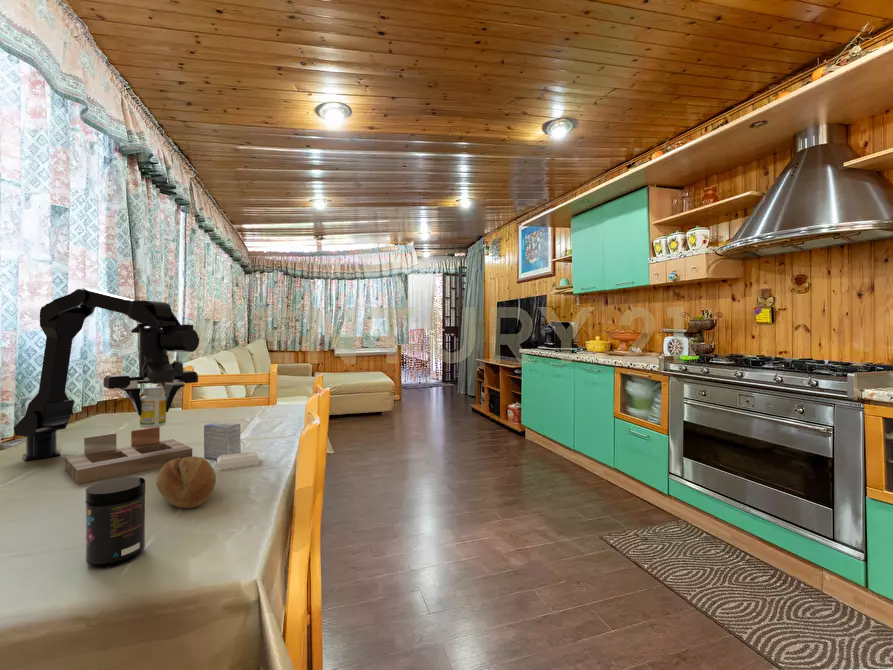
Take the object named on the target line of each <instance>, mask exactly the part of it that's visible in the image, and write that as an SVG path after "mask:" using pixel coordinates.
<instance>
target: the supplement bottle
mask: <svg viewBox="0 0 893 670" xmlns="http://www.w3.org/2000/svg"><path fill="white" fill-rule="evenodd" d="M163 393H164V386H145V387H143V394H144V395H143V396H140V401H141V415H140V416H139V426H140V428H142V429H145V428H152V427H163V426H165V425H166V423H167V412H166V396H165V394H163Z"/></svg>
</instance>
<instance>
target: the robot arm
mask: <svg viewBox="0 0 893 670" xmlns="http://www.w3.org/2000/svg"><path fill="white" fill-rule="evenodd" d="M96 308H100V309H103V310H107V311H112V312H116V313H118V314H119V313H120V314H124V315H126V316H127V317H128V318H129V319H131V320H133V321H134V322H137V323H138V324H137V326H135V327H133V328H132V329H131V330H130V332H131V333H133V334H139V354H138V361H139V362H138V363H139V367H138V369H139V371H138V376H130V375H129V374H109V375H108V374H107V375H106V376H105V377H104V378H103V388H104V389H109V390H117V389H119V390H120V391H123V392H126V394H127V396H128V397H129V399H130V400H131V401H130V402H131V403H132V405H133V407H134V409H135V412H136V414H137V415H138V416H139V417H140V415H141V401H140V399H141V388H140V387H138V385H140V384H153V385H156V384H160V383H164V395H165V396H166V413H168V412H169V410H170V408H171V406H172V403H173V401H174V398H175V396H176V394H177V392H178V391H179V390H180V389H181V388H183V387H186V384H192V383H193V384H195V383H199V374H198V373H197V372H196V371H192V370H184V363H183V362H182V361H172V363H171V362H170V361H169V360H170V359H169V355H168V352H175V353H177V352H178V353H179V352H180V353H186V352H187V353H193V352H195V351H196V350H197V349H198V347H199V344H200V337H199V334H198V333H197V331H196V329H194V325H193V324H181V322H180V321H179V320H178V318H177V316H175V314H174V312H173V310H172V307H171V305H170V304H169V303H168V302H164V301H156V300H155V301H154V300H143V299H142V300H140V299H139V300H138V299H133V298H132V299H131V298H128V297H124V296H119V295H115V294H111V293H108V292H104V291H100V290H98V289H93V288H92V289H91V288H84V287H83V288H82V287H81V288H77V289H75V290H74V291H72V292H70V293H69V294H66V295H63V296H60V297H58V298H55V299H54V300H51V301H50V302H48V303H46V304H44V306H43V305H42V307H41V308H40V310H39V326H40V328H41V330H42V332H43V334H44V335H45V338H46V339H45V347H44V351H43V352H44V353H43V358H42V359H43V360H42V366H41V374H40V380H39V388H38V393H36V395H35V396H34V397H33V398H32V399H31V401H30V402H28V405H27V409H26V410H25V414H24V416H23V417H22V418H21V419H20V421H18V422H17V423H16V424H15V426H13V431H14V435H15V436H16V437H25V453H22V457H23V459H24V461H25V462H26V461H32V460H33V461H34V460H40V459H46V458H50V457H51V458H52V457H57V456H61V452H60V451H59V450H58V449H57V448H58V443H57V441H58V438H57V437H58V436H57V435H58V434H57V433H58V431H61V430H65V429H67V426H68V423H69V421H70V419H71V416H73V415H74V410H73V409H74V405H75V400H74V399H70V398H69V397H68V395H67V393H66V387H67V380H68V375H69V374H68V373H69V368H70V367H69V366H70V362H71V360H70V359H71V354H72V348H73V347H72V346H73V340H74V338H75V337H76V336H77V335H78V334H79V333H80V332H81V330H82V329H83V327H84V323H85V319H87V318H88V317H90V316H91V315H93V314H94V312H95V309H96Z"/></svg>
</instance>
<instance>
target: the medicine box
mask: <svg viewBox="0 0 893 670" xmlns="http://www.w3.org/2000/svg"><path fill="white" fill-rule="evenodd" d="M241 442H242V441H241V423H239V422H237V423H236V422H230V421H229V422H226V421H214V422H210V423H207V424H204V426H203V454H204V455H203V458H204V459H212V460H217V458H219V457H220V456H221V455H229V454H237V453H242V447H241V446H242V445H241Z"/></svg>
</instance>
